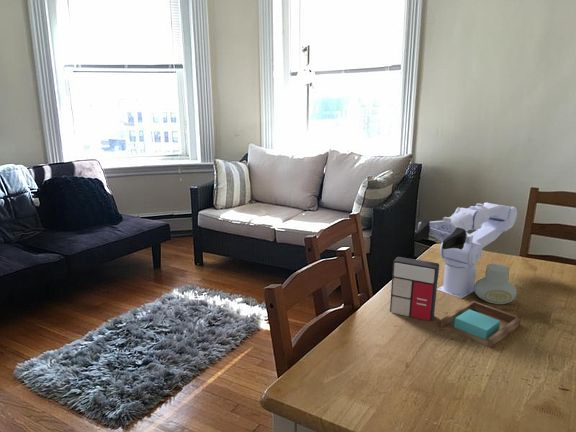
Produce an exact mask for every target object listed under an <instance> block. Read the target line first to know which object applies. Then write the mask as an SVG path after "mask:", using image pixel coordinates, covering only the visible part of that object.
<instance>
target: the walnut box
mask: <svg viewBox="0 0 576 432" xmlns="http://www.w3.org/2000/svg"><path fill="white" fill-rule="evenodd" d="M469 309H470V310H473V311H475V312H478V313H481V314H483V315H486V316H489V317H491V318H494V319H497V320H499V321H500V327H499V330H498V331H497V332H496V333H494V334H493V335H492V336H490V337H489V338H488V339H486V340H484V339H482V338H480V337H477V336H475V335H472V334H470V333H467V332H465V331H463V330H460V329H458V328H455V327H454V324H455V318H456V317H458V316H459V315H461V314H462V313H464V312H466V311H467V310H469ZM521 321H522V317H520V316H517V315H514V314H512V313H509V312H506V311H503V310H501V309H498V308H495V307H492V306H489V305H486V304H484V303H481V302H478V301H475V300H471V301H470V302H468V303H467V304H465V305H463V306H461V307H460V308H457V309H456V310H455V311H453V312H452V313H450V314H448V315H447V316H445V317H443V318H441V321H440V327H441V328H443V329H445V330H447V331H450V332H451V333H455V334H457V335H460V336H463V337H465V338H467V339H469V340H472V341H473V342H475V343H478V344H481V345H483V346H486V347H487V348H493V346H495V345H496V344H498V343H499V342H500V341H501V340H503V339H504V338H505V337H507V336H508V335H509V334H510V333H512V332H513V331H515V329H516V328H518V327H519V326H520V325H521Z"/></svg>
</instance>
